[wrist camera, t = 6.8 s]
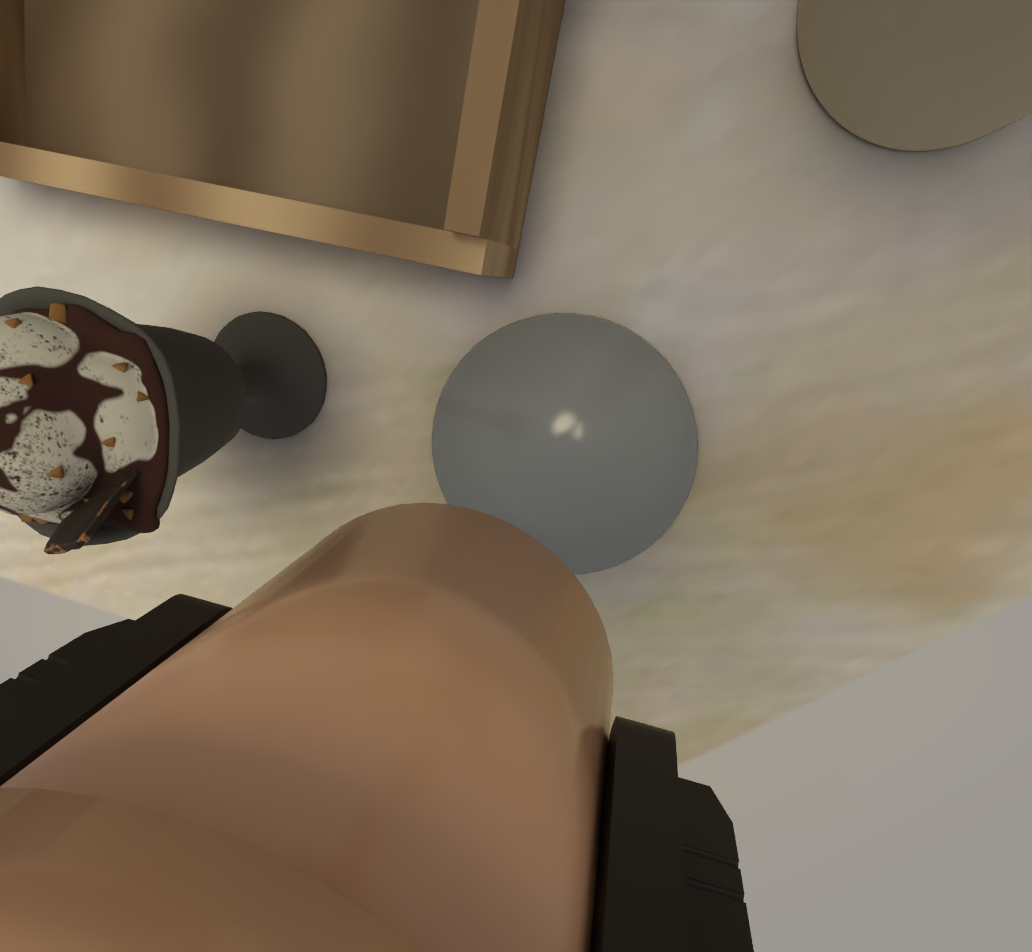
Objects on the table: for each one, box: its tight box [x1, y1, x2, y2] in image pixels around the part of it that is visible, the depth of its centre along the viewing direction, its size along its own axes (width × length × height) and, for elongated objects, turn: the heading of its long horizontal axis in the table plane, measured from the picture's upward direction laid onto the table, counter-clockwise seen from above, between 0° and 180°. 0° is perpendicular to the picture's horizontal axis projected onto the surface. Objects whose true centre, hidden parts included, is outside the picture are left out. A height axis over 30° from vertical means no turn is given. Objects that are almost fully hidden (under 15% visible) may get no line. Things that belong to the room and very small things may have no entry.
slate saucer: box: [432, 313, 698, 574], centre depth 26 cm, size 10×10×1 cm
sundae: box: [0, 287, 326, 554], centre depth 20 cm, size 7×7×15 cm
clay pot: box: [0, 503, 613, 952], centre depth 7 cm, size 6×6×8 cm
